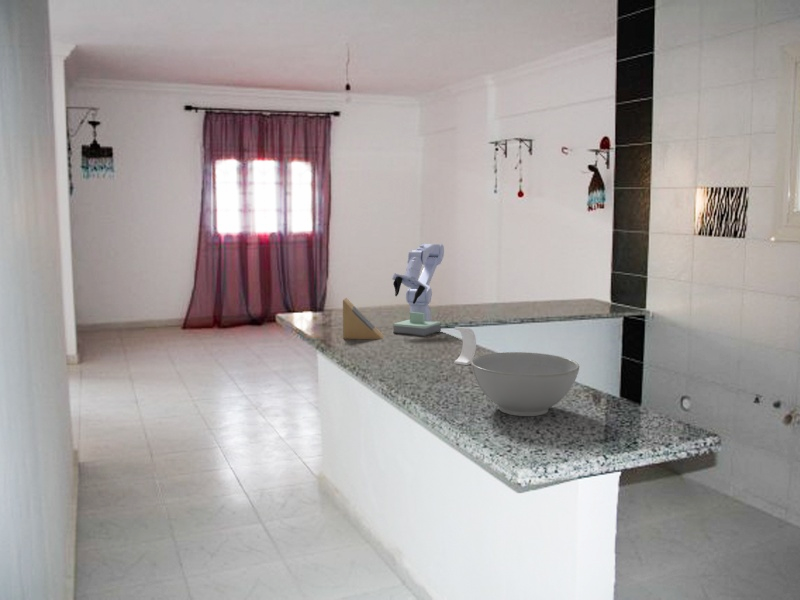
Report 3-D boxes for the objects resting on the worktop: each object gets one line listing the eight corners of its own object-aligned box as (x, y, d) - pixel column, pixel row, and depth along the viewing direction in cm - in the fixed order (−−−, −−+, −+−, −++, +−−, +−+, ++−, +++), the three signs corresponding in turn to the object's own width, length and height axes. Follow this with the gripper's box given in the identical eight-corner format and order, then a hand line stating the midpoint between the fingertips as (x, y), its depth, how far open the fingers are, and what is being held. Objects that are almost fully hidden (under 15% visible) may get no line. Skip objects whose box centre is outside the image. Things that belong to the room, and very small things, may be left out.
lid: (410, 322, 310) (410, 309, 310) (440, 325, 303) (440, 311, 303) (393, 327, 298) (393, 313, 298) (424, 330, 291) (424, 316, 291)
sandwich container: (382, 339, 286) (382, 300, 284) (342, 338, 286) (342, 300, 284) (384, 335, 294) (384, 297, 292) (345, 335, 295) (345, 297, 293)
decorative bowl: (448, 405, 192) (449, 359, 191) (524, 391, 208) (525, 348, 206) (522, 432, 171) (523, 380, 169) (600, 413, 186) (602, 365, 184)
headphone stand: (454, 363, 243) (454, 326, 241) (463, 360, 248) (464, 324, 246) (466, 365, 240) (467, 328, 239) (475, 362, 245) (476, 325, 244)
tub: (410, 328, 311) (410, 320, 310) (440, 330, 304) (440, 323, 303) (393, 333, 299) (393, 325, 298) (424, 336, 292) (424, 328, 291)
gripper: (399, 260, 300) (392, 286, 292) (432, 274, 302) (425, 300, 294) (393, 270, 306) (386, 295, 297) (426, 284, 308) (419, 309, 299)
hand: (405, 298), depth 296 cm, fingers open, 7 cm apart
